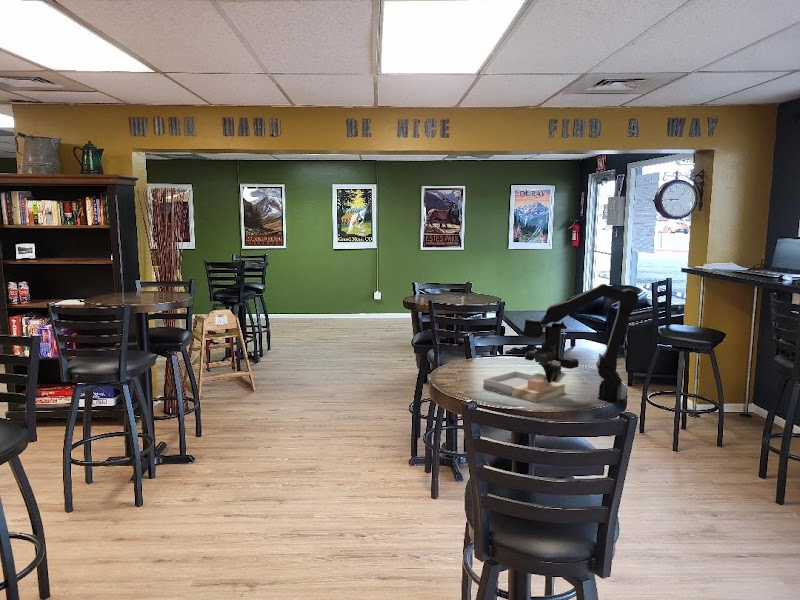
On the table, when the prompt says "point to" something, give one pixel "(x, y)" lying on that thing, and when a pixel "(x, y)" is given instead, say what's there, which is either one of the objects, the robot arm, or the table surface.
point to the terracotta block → (536, 384)
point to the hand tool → (557, 374)
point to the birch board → (535, 395)
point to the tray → (506, 381)
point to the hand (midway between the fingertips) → (549, 382)
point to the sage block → (541, 377)
